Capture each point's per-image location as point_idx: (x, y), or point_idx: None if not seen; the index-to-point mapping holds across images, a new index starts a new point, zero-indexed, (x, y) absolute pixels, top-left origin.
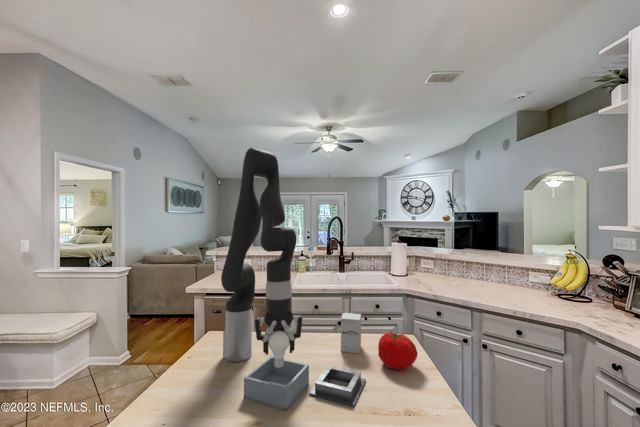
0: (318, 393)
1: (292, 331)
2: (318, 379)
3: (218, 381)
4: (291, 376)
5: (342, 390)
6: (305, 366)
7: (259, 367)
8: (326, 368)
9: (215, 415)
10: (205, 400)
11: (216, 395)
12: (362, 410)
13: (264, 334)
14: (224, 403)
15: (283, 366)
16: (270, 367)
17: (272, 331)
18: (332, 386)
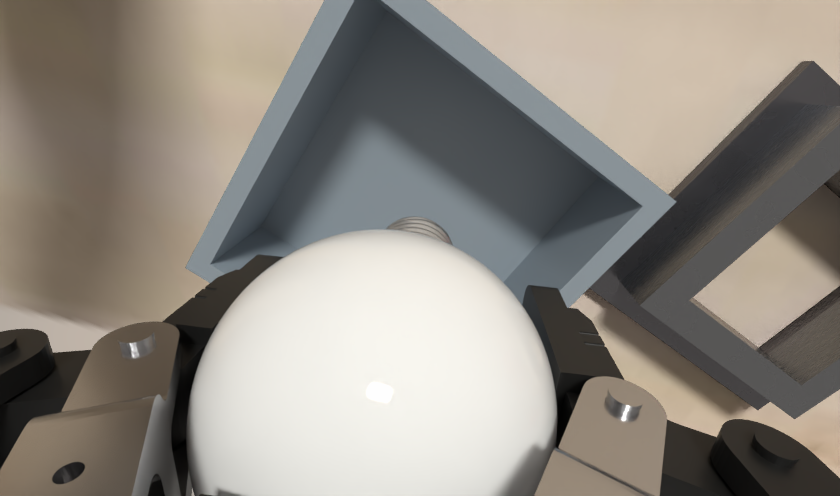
0: (631, 302)
1: (657, 476)
2: (677, 276)
3: (47, 19)
4: (521, 115)
5: (759, 392)
6: (636, 223)
7: (268, 154)
8: (810, 153)
9: (157, 312)
10: (65, 202)
11: (101, 172)
12: (772, 425)
13: (84, 364)
14: (166, 245)
15: (471, 73)
16: (368, 17)
17: (203, 490)
18: (724, 359)
